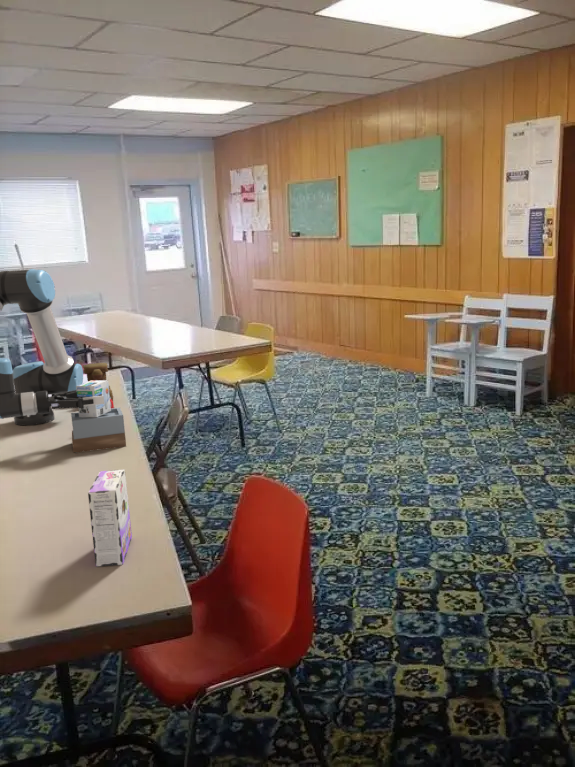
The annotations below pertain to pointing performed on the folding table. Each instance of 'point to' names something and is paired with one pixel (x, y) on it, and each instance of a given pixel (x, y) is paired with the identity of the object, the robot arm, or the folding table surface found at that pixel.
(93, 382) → the light bulb box
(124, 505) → the candy box
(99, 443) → the tower base block
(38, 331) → the robot arm
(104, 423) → the tower top block
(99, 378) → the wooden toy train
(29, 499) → the folding table surface
